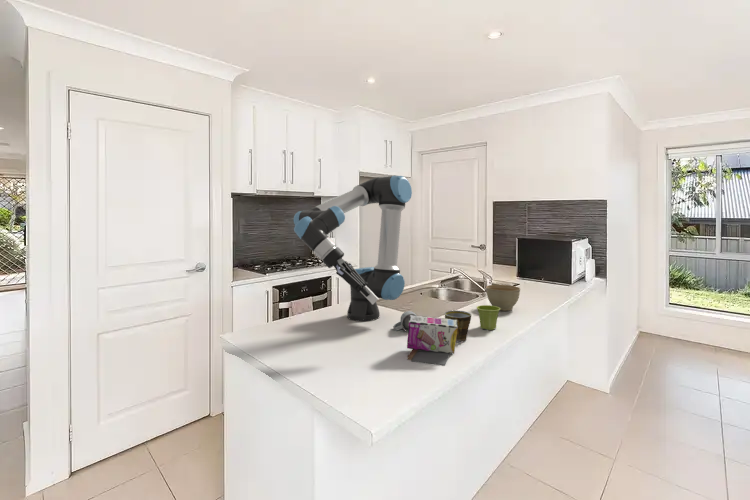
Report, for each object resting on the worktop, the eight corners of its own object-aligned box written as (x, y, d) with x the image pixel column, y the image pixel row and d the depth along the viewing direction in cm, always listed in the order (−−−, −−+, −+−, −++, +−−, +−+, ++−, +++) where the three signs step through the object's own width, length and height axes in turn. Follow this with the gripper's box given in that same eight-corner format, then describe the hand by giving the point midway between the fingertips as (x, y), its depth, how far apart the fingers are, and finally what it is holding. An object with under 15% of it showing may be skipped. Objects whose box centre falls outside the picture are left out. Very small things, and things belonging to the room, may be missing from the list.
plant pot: (473, 325, 162) (473, 305, 162) (494, 324, 163) (494, 304, 162) (481, 331, 153) (481, 310, 152) (503, 331, 154) (504, 310, 153)
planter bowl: (524, 312, 181) (525, 290, 180) (491, 313, 181) (491, 290, 180) (513, 304, 197) (513, 284, 196) (481, 305, 197) (482, 284, 196)
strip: (407, 359, 125) (407, 356, 125) (417, 345, 138) (417, 342, 138) (411, 360, 124) (411, 356, 124) (421, 346, 137) (421, 342, 137)
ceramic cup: (445, 334, 151) (446, 309, 150) (471, 336, 148) (472, 311, 147) (441, 345, 138) (442, 318, 137) (470, 347, 135) (470, 320, 134)
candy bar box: (408, 322, 126) (458, 327, 124) (409, 314, 131) (457, 318, 129) (406, 349, 131) (454, 354, 129) (407, 340, 135) (453, 345, 134)
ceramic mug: (416, 326, 162) (416, 308, 161) (420, 332, 153) (420, 313, 153) (392, 327, 161) (391, 309, 160) (394, 333, 153) (394, 314, 152)
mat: (411, 361, 123) (411, 360, 123) (422, 345, 138) (422, 344, 138) (444, 365, 120) (444, 364, 120) (452, 348, 135) (452, 347, 135)
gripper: (328, 258, 141) (371, 304, 140) (316, 263, 128) (364, 313, 127) (341, 244, 140) (386, 290, 138) (331, 247, 127) (380, 298, 126)
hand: (375, 301), depth 133 cm, fingers closed
